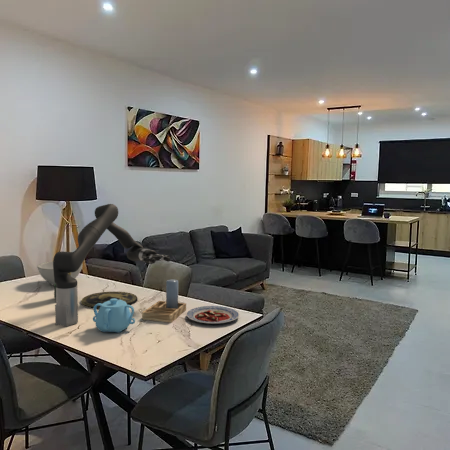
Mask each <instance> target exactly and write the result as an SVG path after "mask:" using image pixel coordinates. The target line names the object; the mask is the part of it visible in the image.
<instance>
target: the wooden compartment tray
mask: <svg viewBox="0 0 450 450" xmlns="http://www.w3.org/2000/svg"><path fill="white" fill-rule="evenodd" d="M186 311H187V303H185V302H178V309H173V308H166V300H165V301H164V300H158V301H157V302H156V303H154V304H153V305H151V306H149V307H148V308H146V309H145V310H143V311H142V312H141V313H142V314H141V315H142V316H141V317H142V318H141V319H142V320H145V321H155V322H163V323H170V324H171V323H174V321H175V320H177V318H179V317H180V316H181V315H182V314H183V313H185V312H186Z"/></svg>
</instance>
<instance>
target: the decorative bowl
mask: <svg viewBox="0 0 450 450" xmlns="http://www.w3.org/2000/svg"><path fill="white" fill-rule="evenodd" d="M83 263H84V262H83ZM83 263H82V265H81V266H80V268H79V269H78V270H77V271H76V272H71V277H73V278H75V279H76V278H78V276H79V274H80V273H81V271H82V268H83V265H84V264H83ZM36 269H37V270H38V273H39V274H40V276H41V277H42V279H44V280H45V281H46V282H48V283H50V285H52V286H54V270H53V260H52V261H47V262H42V263H39V264H37V266H36Z"/></svg>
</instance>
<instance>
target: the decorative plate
mask: <svg viewBox="0 0 450 450" xmlns="http://www.w3.org/2000/svg"><path fill="white" fill-rule="evenodd" d="M114 298H115V299H117V300H122V301H125V302H126V303H127V305H131V306H133V305H135V304H136V303H137V302H138V296H137V295H136V294H133V293H131V292H127V291H103V292H102V291H101V292H95V293H92V294H88V295H86V296H84V297H82V299H81V300H80V304H81V305H82V306H83V307H85V308H88V309H93V308H94V306H95V305H96V304H98V303H101V304H103V303H104V302H106V301H110V299H114ZM100 307H101V306H97V307H96V309H97V310H99V309H100Z"/></svg>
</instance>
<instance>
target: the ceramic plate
mask: <svg viewBox="0 0 450 450" xmlns="http://www.w3.org/2000/svg"><path fill="white" fill-rule="evenodd" d="M186 316H187V318H188V319H189V320H191V321H193V322H197V323H201V324H202V323H203V324H209V325H211V324H216V325H217V324H225V323H231V322H233V321H236V320H237V319H239V317H240V313H239V311H237V310H236V309H235V308H231V307H226V306H218V305H204V306H198V307H193V308H192V309H190V310H188V311H187V312H186Z"/></svg>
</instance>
